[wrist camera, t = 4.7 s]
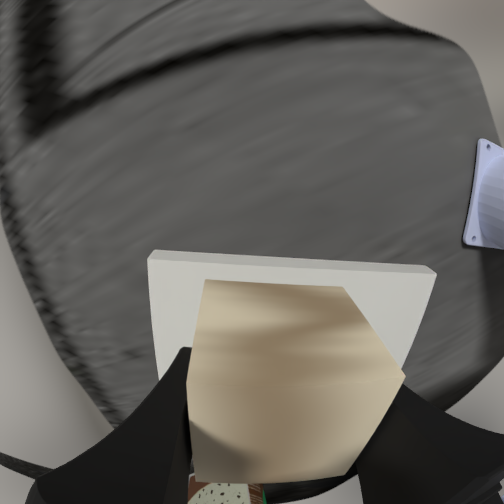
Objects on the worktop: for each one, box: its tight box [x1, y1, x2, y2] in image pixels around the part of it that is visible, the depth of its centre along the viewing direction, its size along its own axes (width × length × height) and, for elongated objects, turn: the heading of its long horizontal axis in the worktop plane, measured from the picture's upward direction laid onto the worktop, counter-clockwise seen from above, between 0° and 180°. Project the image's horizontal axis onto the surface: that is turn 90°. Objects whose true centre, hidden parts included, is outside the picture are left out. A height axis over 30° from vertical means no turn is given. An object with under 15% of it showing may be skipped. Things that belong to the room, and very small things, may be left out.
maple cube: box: [186, 279, 406, 484], centre depth 9 cm, size 5×5×5 cm
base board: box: [147, 250, 437, 381], centre depth 18 cm, size 18×18×4 cm
